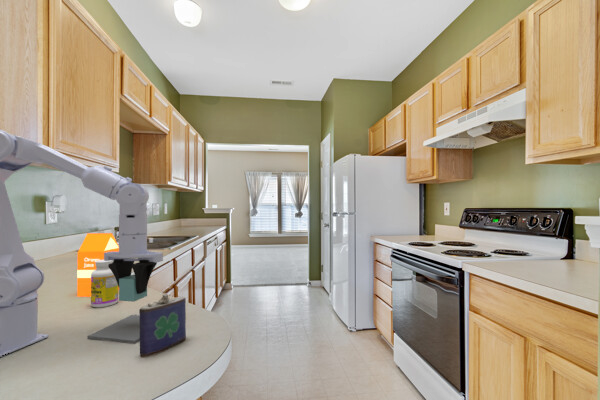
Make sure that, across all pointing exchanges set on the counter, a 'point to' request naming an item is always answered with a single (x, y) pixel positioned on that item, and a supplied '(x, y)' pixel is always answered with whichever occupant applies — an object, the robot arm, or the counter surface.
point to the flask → (162, 325)
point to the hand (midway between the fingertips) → (133, 292)
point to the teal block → (129, 289)
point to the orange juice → (92, 258)
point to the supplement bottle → (103, 285)
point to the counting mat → (120, 331)
